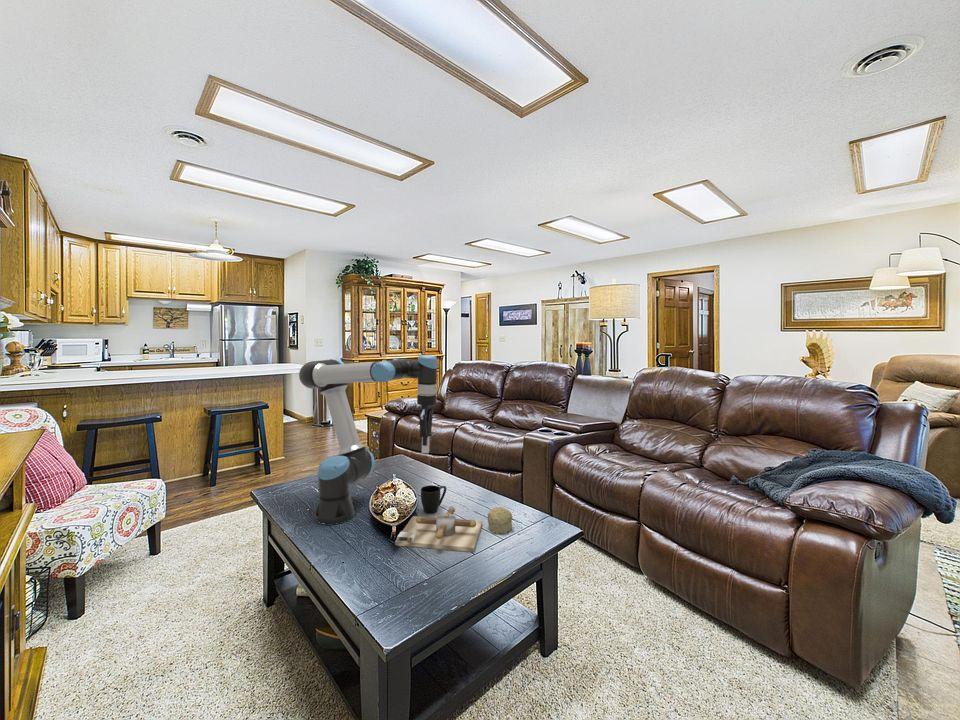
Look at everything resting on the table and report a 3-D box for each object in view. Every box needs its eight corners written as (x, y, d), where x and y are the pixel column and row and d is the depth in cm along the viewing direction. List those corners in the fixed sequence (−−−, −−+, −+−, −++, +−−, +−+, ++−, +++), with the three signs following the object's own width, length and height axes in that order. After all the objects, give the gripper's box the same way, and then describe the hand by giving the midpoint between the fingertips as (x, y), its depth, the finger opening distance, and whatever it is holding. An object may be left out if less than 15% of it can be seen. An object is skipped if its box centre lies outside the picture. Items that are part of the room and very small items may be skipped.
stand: (395, 545, 144) (394, 537, 144) (412, 519, 164) (412, 512, 164) (473, 552, 140) (473, 544, 140) (482, 525, 160) (482, 517, 160)
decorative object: (514, 538, 157) (516, 510, 162) (506, 533, 149) (509, 505, 154) (491, 535, 161) (494, 509, 166) (482, 531, 153) (485, 503, 158)
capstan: (471, 549, 139) (471, 533, 138) (406, 544, 142) (406, 528, 141) (480, 519, 161) (480, 505, 161) (424, 515, 164) (424, 501, 164)
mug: (451, 509, 174) (451, 487, 174) (427, 517, 167) (427, 494, 166) (440, 502, 181) (440, 481, 180) (417, 510, 173) (416, 488, 172)
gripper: (431, 397, 156) (429, 458, 158) (440, 392, 169) (438, 448, 171) (412, 396, 157) (411, 456, 159) (422, 391, 170) (421, 447, 172)
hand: (425, 452), depth 165 cm, fingers closed
